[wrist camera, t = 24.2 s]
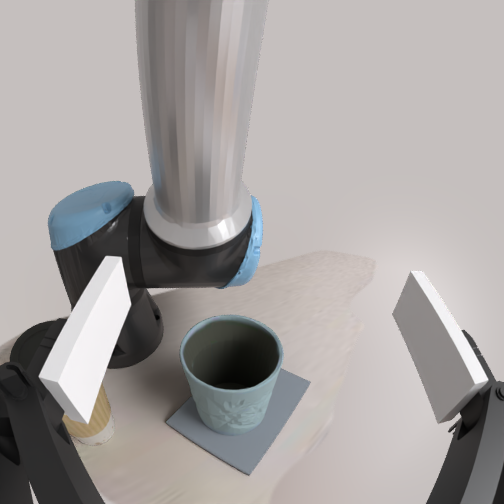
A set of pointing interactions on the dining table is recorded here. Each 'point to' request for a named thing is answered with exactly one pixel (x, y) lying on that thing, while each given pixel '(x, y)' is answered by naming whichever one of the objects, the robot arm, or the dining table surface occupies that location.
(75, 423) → the coffee cup
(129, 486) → the dining table surface
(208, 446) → the slate mat
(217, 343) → the embossed teal cup
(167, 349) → the dining table surface
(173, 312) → the dining table surface
